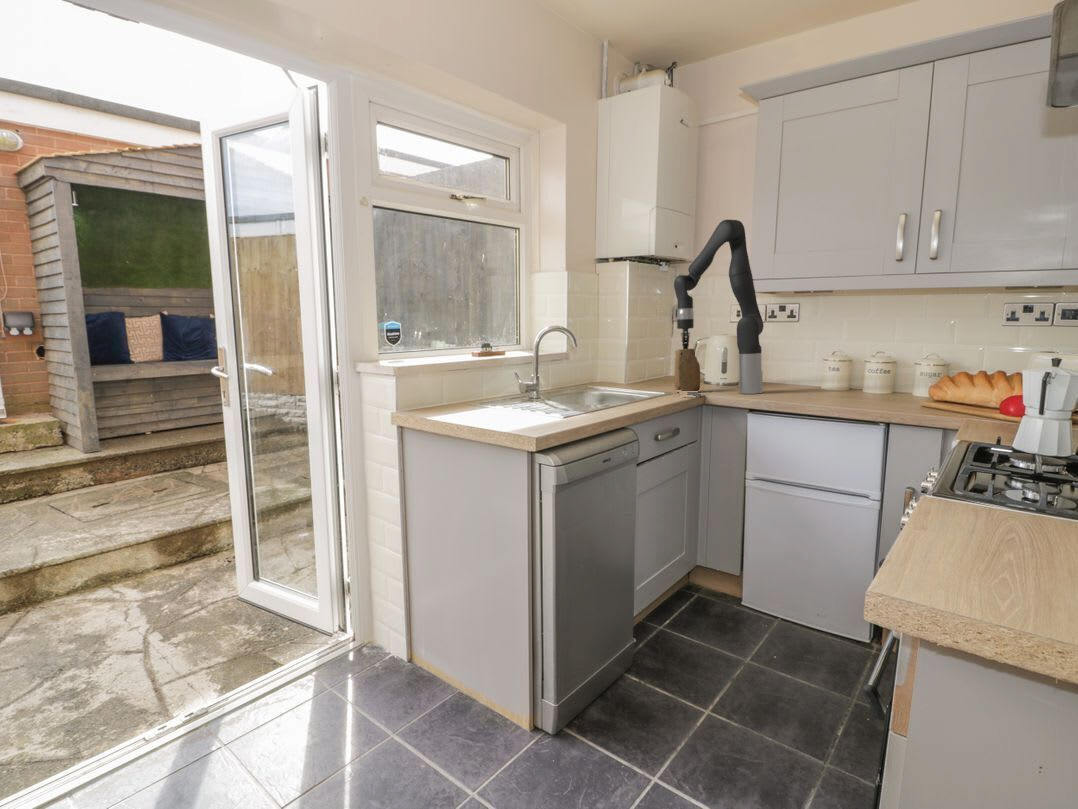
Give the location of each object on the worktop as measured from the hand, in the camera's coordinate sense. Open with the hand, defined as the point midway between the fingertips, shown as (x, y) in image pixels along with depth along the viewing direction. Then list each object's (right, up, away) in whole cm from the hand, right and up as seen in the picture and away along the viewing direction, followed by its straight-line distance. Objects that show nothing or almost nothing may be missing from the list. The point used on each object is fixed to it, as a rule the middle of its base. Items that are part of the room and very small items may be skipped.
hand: (685, 355), depth 277 cm
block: (-2, -18, -10) cm, 21 cm away
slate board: (-4, -20, -24) cm, 31 cm away
